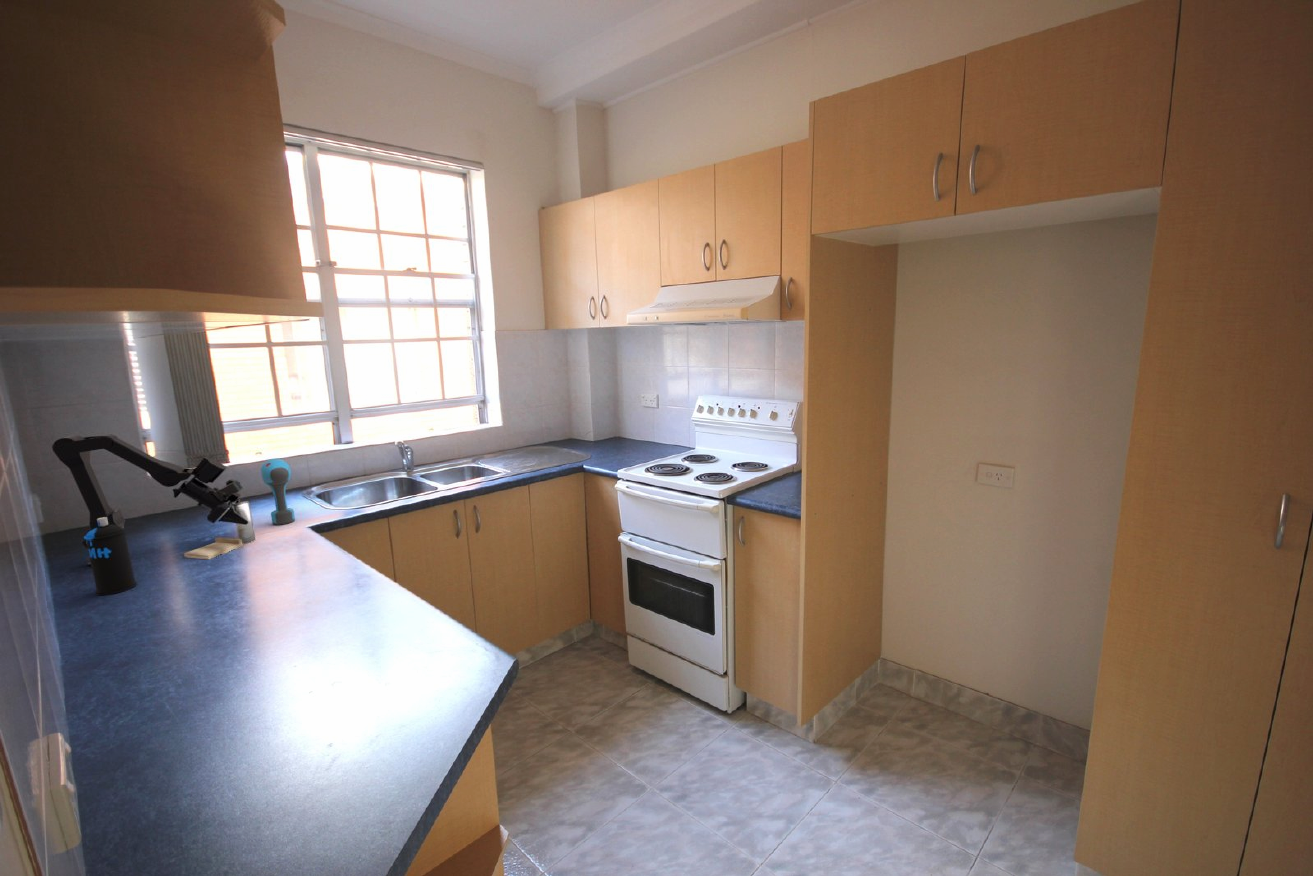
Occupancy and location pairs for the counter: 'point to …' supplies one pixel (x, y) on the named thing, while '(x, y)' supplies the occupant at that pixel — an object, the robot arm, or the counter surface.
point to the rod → (243, 530)
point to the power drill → (278, 489)
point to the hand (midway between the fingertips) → (249, 521)
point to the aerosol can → (110, 558)
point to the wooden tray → (215, 548)
